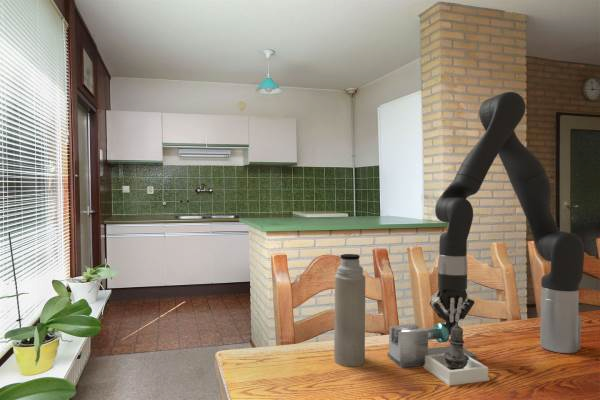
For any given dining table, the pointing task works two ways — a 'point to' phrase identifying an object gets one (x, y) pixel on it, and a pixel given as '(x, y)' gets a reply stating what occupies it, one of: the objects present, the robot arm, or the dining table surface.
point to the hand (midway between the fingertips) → (451, 334)
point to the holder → (459, 376)
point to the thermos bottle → (349, 312)
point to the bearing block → (413, 346)
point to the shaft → (437, 332)
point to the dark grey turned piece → (456, 350)
